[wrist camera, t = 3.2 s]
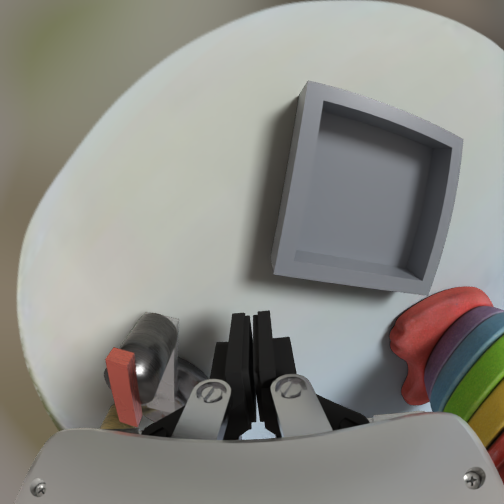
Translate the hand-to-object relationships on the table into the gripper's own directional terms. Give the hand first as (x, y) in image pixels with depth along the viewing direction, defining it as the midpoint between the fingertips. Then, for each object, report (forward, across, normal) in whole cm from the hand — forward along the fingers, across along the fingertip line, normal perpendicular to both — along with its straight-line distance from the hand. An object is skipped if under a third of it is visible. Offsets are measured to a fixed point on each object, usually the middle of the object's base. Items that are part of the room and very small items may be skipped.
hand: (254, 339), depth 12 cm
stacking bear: (+4, -15, +6) cm, 17 cm away
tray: (+4, -7, -6) cm, 10 cm away
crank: (+3, +6, +4) cm, 8 cm away
